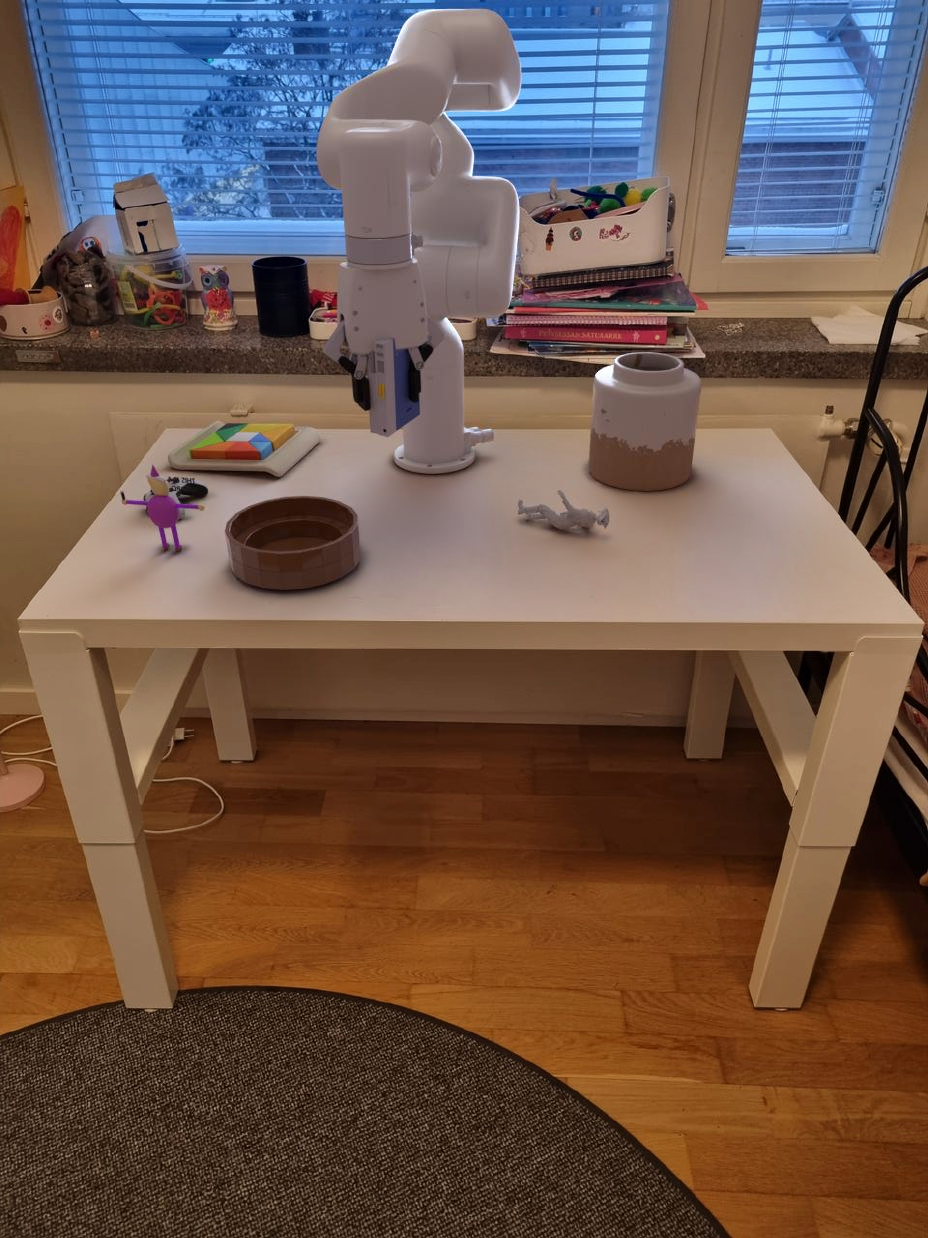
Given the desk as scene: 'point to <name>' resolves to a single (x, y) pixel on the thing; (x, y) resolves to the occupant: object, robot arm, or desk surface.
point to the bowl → (293, 542)
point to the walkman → (389, 388)
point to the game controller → (182, 492)
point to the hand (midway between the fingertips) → (387, 401)
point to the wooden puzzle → (245, 447)
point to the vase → (644, 422)
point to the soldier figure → (565, 515)
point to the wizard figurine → (164, 505)
